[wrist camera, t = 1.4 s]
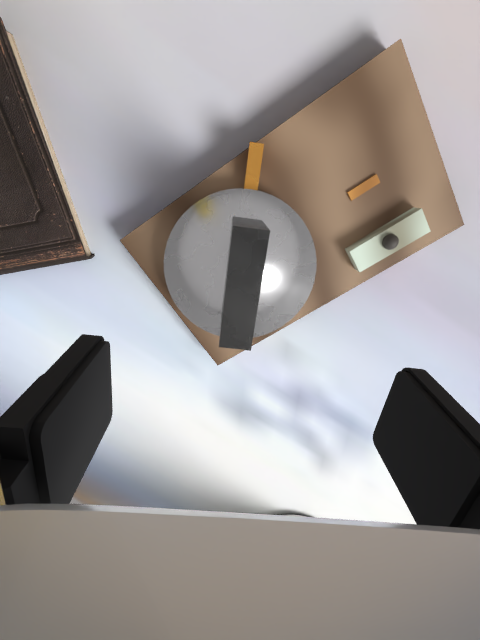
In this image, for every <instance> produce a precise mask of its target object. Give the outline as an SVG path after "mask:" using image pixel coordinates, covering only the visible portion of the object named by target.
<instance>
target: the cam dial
mask: <svg viewBox="0 0 480 640" xmlns="http://www.w3.org/2000/svg"><path fill="white" fill-rule="evenodd" d="M263 148H264V144H262V143H255V142H250V143H249V151H248V159H247V167H246V175H245V183H244V188H235V189H227V190H222V191H218V192H216V193H213V194H210V195H208V196H206V197H205V198H203V199H201V200H199V201H198V202H196V203H195V204H194V205H192V206H191V207H190V208H189V209H188V210H187V211H186V212H185V213H184V214H183V215H182V216H181V217H180V219H179V220H178V221H177V222H176V224H175V226H174V228H173V229H172V231H171V233H170V236H169V238H168V241H167V244H166V248H165V254H164V274H165V280H166V284H167V287H168V290H169V293H170V295H171V297H172V299H173V301H174V302H175V304H176V306H177V307H178V308H179V310H180V311H181V312H182V313H183V315H184V316H185V317H187V318H188V319H189V320H190V321H191V322H192V323H194V324H195V325H196V326H198V327H199V328H201V329H203V330H205V331H207V332H209V333H211V334H214V335H217V336H220V337H219V347H221V348H231V349H241V350H250V351H251V346H252V340H253V338H254V337H259V336H262V335H265V334H268V333H270V332H273V331H275V330H277V329H278V328H280V327H282V326H283V325H285V324H286V323H287V322H289V321H290V320H291V319H292V318H293V317H294V316H295V315H296V314H297V313H298V312H299V311H300V309H301V308H302V307H303V305H304V304H305V302H306V301H307V299H308V297H309V295H310V292H311V290H312V287H313V284H314V281H315V275H316V263H317V260H316V250H315V246H314V242H313V239H312V237H311V234H310V232H309V230H308V228H307V226H306V225H305V223H304V221H303V220H302V219H301V217H300V216H299V215H298V214H297V213H296V212H295V211H294V210H293V209H292V208H291V207H290V206H289V205H287V204H286V203H285V202H283V201H282V200H280V199H278V198H276V197H275V196H273V195H270V194H267V193H265V192H262V191H258V184H259V177H260V170H261V163H262V156H263Z"/></svg>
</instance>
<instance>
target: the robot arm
mask: <svg viewBox="0 0 480 640" xmlns="http://www.w3.org/2000/svg"><path fill="white" fill-rule="evenodd" d="M111 417H112V386H111V360H110V344H109V342H108V341H104V338H103V337H102V336H94V335H85V334H83V335H81V336H80V337H79V338H78V339H77V340H76V341H75V342H74V343H73V344H72V345H71V347H70V348H69V349H68V350H67V351H66V352H65V353H64V354H63V355H62V356H61V357H60V358H59V359H58V360H57V361H56V362H55V363H54V364H53V365H52V366H51V367H50V368H49V369H48V371H47V372H46V373H45V374H43V375H41V376H40V377H39V378H38V379H37V380H36V381H35V382H34V383H33V384H32V385H31V386H30V387H29V388H28V389H27V390H26V391H25V392H24V393H23V394H22V395H21V396H20V397H19V398H18V399H17V400H16V401H15V403H14V404H13V405H12V406H11V407H10V408H9V409H8V410H7V411H6V412H5V413H4V414H3V415H2V416H1V417H0V640H480V424H479V423H478V422H477V421H476V420H475V419H474V418H473V417H472V416H471V415H470V414H469V413H468V412H467V411H466V410H465V409H464V408H463V407H462V406H461V405H460V404H459V403H458V402H457V401H456V400H455V399H454V398H453V397H452V396H451V395H450V394H449V393H448V392H447V391H446V390H445V389H444V388H443V387H442V386H441V385H440V384H439V383H438V382H437V381H436V380H435V379H434V378H433V377H432V376H431V375H430V374H429V373H428V372H427V371H425V370H423V369H415V368H404V369H403V370H402V371H400V372H398V373H397V374H396V376H395V379H394V381H393V384H392V387H391V389H390V392H389V394H388V397H387V400H386V402H385V405H384V407H383V410H382V412H381V415H380V418H379V420H378V423H377V425H376V428H375V431H374V434H373V442H374V445H375V447H376V449H377V451H378V452H379V454H380V456H381V458H382V460H383V462H384V464H385V465H386V467H387V469H388V471H389V473H390V475H391V477H392V479H393V480H394V482H395V484H396V486H397V488H398V490H399V492H400V494H401V495H402V497H403V499H404V501H405V503H406V505H407V507H408V508H409V510H410V512H411V514H412V516H413V518H414V520H415V522H416V523H417V525H415V524H401V523H387V522H373V521H358V520H343V519H328V518H313V517H306V516H301V515H266V514H251V513H234V512H218V511H201V510H184V509H167V508H150V507H131V506H108V505H84V504H69V503H70V501H71V499H72V497H73V495H74V493H75V491H76V489H77V487H78V485H79V483H80V481H81V479H82V477H83V475H84V473H85V471H86V469H87V467H88V465H89V463H90V461H91V459H92V457H93V455H94V453H95V451H96V449H97V447H98V445H99V443H100V441H101V439H102V437H103V435H104V433H105V431H106V429H107V427H108V425H109V423H110V421H111Z"/></svg>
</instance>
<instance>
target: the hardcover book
mask: <svg viewBox="0 0 480 640" xmlns="http://www.w3.org/2000/svg"><path fill="white" fill-rule="evenodd" d="M93 257H94V254H91V253H90V250H89V247H88V244H87V241H86V239H85V236H84V233H83V230H82V227H81V225H80V222H79V219H78V216H77V214H76V211H75V208H74V205H73V202H72V200H71V197H70V194H69V191H68V188H67V186H66V183H65V180H64V177H63V175H62V172H61V169H60V166H59V163H58V161H57V158H56V155H55V152H54V149H53V147H52V144H51V141H50V138H49V136H48V133H47V130H46V127H45V124H44V122H43V119H42V116H41V113H40V110H39V108H38V105H37V102H36V99H35V97H34V94H33V91H32V88H31V85H30V83H29V80H28V77H27V74H26V71H25V69H24V66H23V63H22V60H21V58H20V55H19V52H18V49H17V46H16V44H15V41H14V38H13V35H12V34H10V33H9V32H7V31H6V30H5V27H4V24H3V21H2V19H1V17H0V275H2V274H8V273H14V272H19V271H25V270H30V269H36V268H42V267H47V266H53V265H59V264H64V263H70V262H76V261H81V260H87V259H91V258H93Z"/></svg>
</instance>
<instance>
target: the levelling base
mask: <svg viewBox="0 0 480 640" xmlns="http://www.w3.org/2000/svg"><path fill="white" fill-rule="evenodd" d="M256 143H262V144H264V148H263V156H262V163H261V170H260V177H259V184H258V191H262V192H265V193H267V194H270V195H273V196H275V197H276V198H278V199H280V200H282V201H283V202H285V203H286V204H287V205H289V206H290V207H291V208H292V209H293V210H294V211H295V212H296V213H297V214H298V215H299V216H300V217H301V219H302V220H303V221H304V223H305V225H306V226H307V228H308V230H309V232H310V234H311V237H312V239H313V242H314V246H315V250H316V260H317V263H316V275H315V281H314V284H313V287H312V290H311V292H310V295H309V297H308V299H307V301H306V302H305V304H304V305H303V307H302V308H301V309H300V311H299V312H298V313H297V314H296V315H295V316H294V317H293V318H292V319H291V320H290V321H289V322H287V323H286V324H285V325H283V326H282V327H280V328H278V329H277V330H275V331H273V332H270V333H268V334H265V335H262V336H259V337H254V338H253V340H252V346H253V345H254V344H256V343H258V342H260V341H261V340H263V339H265V338H267V337H268V336H270V335H272V334H274V333H275V332H277V331H279V330H281V329H282V328H284V327H286V326H288V325H289V324H291V323H293V322H295V321H296V320H298V319H300V318H302V317H303V316H305V315H307V314H309V313H310V312H312V311H314V310H316V309H317V308H319V307H321V306H323V305H324V304H326V303H328V302H330V301H331V300H333V299H335V298H337V297H338V296H340V295H342V294H344V293H345V292H347V291H349V290H351V289H352V288H354V287H356V286H358V285H359V284H361V283H363V282H365V281H366V280H368V279H370V278H372V277H373V276H375V275H377V274H379V273H380V272H382V271H384V270H386V269H387V268H389V267H391V266H393V265H394V264H396V263H398V262H400V261H401V260H403V259H405V258H407V257H408V256H410V255H412V254H414V253H415V252H417V251H419V250H421V249H422V248H424V247H426V246H428V245H429V244H431V243H433V242H435V241H436V240H438V239H440V238H442V237H443V236H445V235H447V234H449V233H450V232H452V231H454V230H456V229H457V228H459V227H461V226H463V225H464V223H463V220H462V217H461V214H460V211H459V208H458V205H457V202H456V199H455V196H454V193H453V190H452V187H451V185H450V182H449V179H448V176H447V173H446V170H445V167H444V164H443V161H442V158H441V155H440V152H439V149H438V146H437V143H436V140H435V137H434V135H433V132H432V129H431V126H430V123H429V120H428V117H427V114H426V111H425V108H424V105H423V102H422V99H421V96H420V93H419V90H418V87H417V84H416V82H415V79H414V76H413V73H412V70H411V67H410V64H409V61H408V58H407V55H406V52H405V49H404V46H403V43H402V40H401V39H400V40H398V41H397V42H395V43H394V44H393V45H391V46H390V47H388V48H387V49H386V50H384V51H383V52H381V53H380V54H379V55H377V56H376V57H374V58H373V59H372V60H370V61H369V62H367V63H366V64H365V65H363V66H362V67H361V68H359V69H358V70H356V71H355V72H354V73H352V74H351V75H349V76H348V77H347V78H345V79H344V80H342V81H341V82H340V83H338V84H337V85H335V86H334V87H333V88H331V89H330V90H328V91H327V92H326V93H324V94H323V95H321V96H320V97H319V98H317V99H316V100H315V101H313V102H312V103H310V104H309V105H308V106H306V107H305V108H303V109H302V110H301V111H299V112H298V113H296V114H295V115H294V116H292V117H291V118H289V119H288V120H287V121H285V122H284V123H282V124H281V125H280V126H278V127H277V128H276V129H274V130H273V131H271V132H270V133H269V134H267V135H266V136H264V137H263V138H262V139H260V140H259V141H257V142H256ZM248 151H249V148H248V149H246V150H245V151H243V152H242V153H241V154H239V155H238V156H237V157H235V158H234V159H232V160H231V161H230V162H228V163H227V164H225V165H224V166H223V167H221V168H220V169H218V170H217V171H216V172H214V173H213V174H211V175H210V176H209V177H207V178H206V179H204V180H203V181H202V182H200V183H199V184H198V185H196V186H195V187H193V188H192V189H191V190H189V191H188V192H186V193H185V194H184V195H182V196H181V197H179V198H178V199H177V200H175V201H174V202H172V203H171V204H170V205H168V206H167V207H165V208H164V209H163V210H161V211H160V212H159V213H157V214H156V215H154V216H153V217H152V218H150V219H149V220H147V221H146V222H145V223H143V224H142V225H140V226H139V227H138V228H136V229H135V230H133V231H132V232H131V233H129V234H128V235H126V236H125V237H124V238H122V239H121V240H120V241H121V242H122V244H123V245H124V246H125V248H126V249H127V250H128V251H129V253H130V254H131V255H132V256H133V258H134V259H135V260H136V262H137V263H138V264H139V265H140V267H141V268H142V269H143V271H144V272H145V273H146V274H147V276H148V277H149V278H150V279H151V281H152V282H153V283H154V285H155V286H156V287H157V288H158V290H159V291H160V292H161V294H162V295H163V296H164V297H165V299H166V300H167V301H168V302H169V304H170V305H171V306H172V308H173V309H174V310H175V311H176V313H177V314H178V315H179V317H180V318H181V319H182V320H183V322H184V323H185V324H186V325H187V327H188V328H189V329H190V331H191V332H192V333H193V334H194V336H195V337H196V338H197V340H198V341H199V342H200V343H201V345H202V346H203V347H204V348H205V350H206V351H207V352H208V354H209V355H210V356H211V357H212V359H213V360H214V361H215V362H216V364H217V365H219V364H221V363H223V362H225V361H226V360H228V359H230V358H232V357H233V356H235V355H237V354H239V353H240V352H242V351H244V350H241V349H231V348H221V347H219V337H220V336H217V335H214V334H211V333H209V332H207V331H205V330H203V329H201V328H199V327H198V326H196V325H195V324H194V323H192V322H191V321H190V320H189V319H188V318H187V317H185V316H184V315H183V313H182V312H181V311H180V310H179V308H178V307H177V306H176V304H175V302H174V301H173V299H172V297H171V295H170V293H169V290H168V287H167V284H166V280H165V274H164V254H165V248H166V244H167V241H168V238H169V236H170V233H171V231H172V229H173V228H174V226H175V224H176V222H177V221H178V220H179V219H180V217H181V216H182V215H183V214H184V213H185V212H186V211H187V210H188V209H189V208H190V207H191V206H192V205H194V204H195V203H196V202H198V201H199V200H201V199H203V198H205V197H206V196H208V195H210V194H213V193H216V192H218V191H222V190H227V189H235V188H244V183H245V175H246V167H247V159H248Z"/></svg>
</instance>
